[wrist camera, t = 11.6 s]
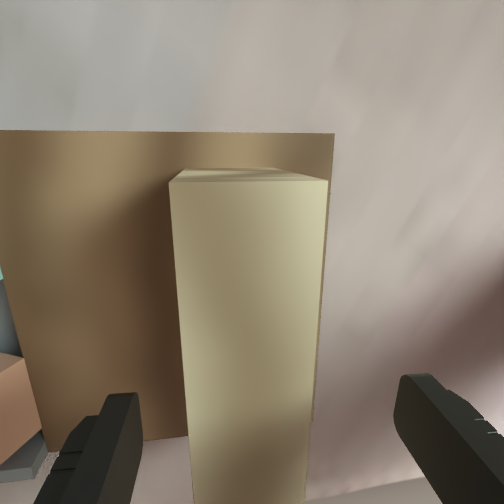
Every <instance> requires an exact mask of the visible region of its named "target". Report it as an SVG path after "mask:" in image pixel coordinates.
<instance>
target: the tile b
mask: <svg viewBox="0 0 504 504" xmlns="http://www.w3.org/2000/svg"><path fill="white" fill-rule="evenodd" d="M40 429H42V425H41V422H40V418H39V414H38V410H37V406H36V402H35V398H34V395H33V391H32V387H31V383H30V379H29V375H28V372H27V368H26V364H25V360H24V358H22V357H18V356H14V355H9V354H5V353H1V352H0V465H1V464H2V463H3V462H4V461H6V460H7V459H8V458H9V457H10V456H11V455H12V454H13V453H15V452H16V451H17V450H18V449H19V448H20V447H21V446H22V445H24V444H25V443H26V442H27V441H28V440H29V439H30V438H31V437H33V436H34V435H35V434H36V433H37V432H38V431H39V430H40Z"/></svg>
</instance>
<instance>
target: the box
mask: <svg viewBox="0 0 504 504" xmlns="http://www.w3.org/2000/svg"><path fill="white" fill-rule="evenodd" d="M0 352H1V353H5V354H9V355H14V356H18V357H22V358H23V355H22V351H21V347H20V343H19V340H18V336H17V332H16V328H15V324H14V320H13V317H12V313H11V309H10V305H9V301H8V297H7V293H6V290H5V286H4V282H3V279H2V280H0ZM47 453H48V451H47V447H46V443H45V439H44V436H43V432H42V429H40V430H39V431H38V432H37V433H36V434H35V435H34V436H33V437H31V438H30V439H29V440H28V441H27V442H26V443H25V444H24V445H22V446H21V447H20V448H19V449H18V450H17V451H16V452H15V453H13V454H12V455H11V456H10V457H9V458H8V459H7V460H6V461H4V462H3V463H2V464H1V465H0V483H5V482H13V481H20V480H28V479H34V478H35V476H36V474H37V472H38V471H39V469H40V467H41V465H42V463H43V461H44V459H45V457H46V455H47Z"/></svg>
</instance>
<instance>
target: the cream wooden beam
mask: <svg viewBox="0 0 504 504" xmlns="http://www.w3.org/2000/svg"><path fill="white" fill-rule="evenodd" d="M327 191H328V180H324V179H319V178H315V177H311V176H306V175H302V174H298V173H294V172H289V171H285V170H281V169H276V168H185V169H184V170H183V171H182V172H180V173H179V174H178V175H177V176H176V177H175V178H173V179H172V180H171V181H170V182H169V194H170V207H171V219H172V232H173V245H174V257H175V270H176V283H177V295H178V308H179V321H180V333H181V346H182V359H183V371H184V384H185V397H186V409H187V422H188V435H189V447H190V460H191V473H192V486H193V498H194V504H304V503H305V490H306V476H307V462H308V449H309V435H310V422H311V408H312V394H313V381H314V367H315V354H316V340H317V327H318V313H319V299H320V286H321V272H322V259H323V245H324V231H325V218H326V204H327Z"/></svg>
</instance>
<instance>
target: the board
mask: <svg viewBox="0 0 504 504" xmlns="http://www.w3.org/2000/svg"><path fill="white" fill-rule="evenodd" d="M334 137H335V134H321V133H225V132H128V131H31V130H0V268H1V271H2V275H3V282H4V286H5V290H6V293H7V297H8V301H9V305H10V309H11V313H12V317H13V320H14V324H15V328H16V332H17V336H18V340H19V343H20V347H21V351H22V355H23V358H24V360H25V364H26V368H27V372H28V375H29V379H30V383H31V387H32V391H33V395H34V398H35V402H36V406H37V410H38V414H39V418H40V422H41V425H42V432H43V436H44V439H45V443H46V447H47V451H48V452H57V451H61V449H62V447H63V445H64V443H65V441H66V439H67V437H68V435H69V433H70V432H71V431H72V430H73V429H74V428H75V427H76V426H77V425H78V424H79V423H80V422H81V421H82V420H83V419H84V418H85V417H86V416H92V415H99V413H100V411H101V409H102V406H103V404H104V402H105V400H106V397H107V396H108V395H109V394H115V393H130V392H137V393H138V397H139V405H140V413H141V421H142V429H143V441H149V440H157V439H166V438H174V437H182V436H189V435H188V422H187V409H186V397H185V384H184V371H183V359H182V346H181V333H180V321H179V308H178V295H177V283H176V270H175V257H174V245H173V232H172V219H171V207H170V194H169V182H170V181H171V180H172V179H173V178H175V177H176V176H177V175H178V174H179V173H180V172H182V171H183V170H184V169H185V168H276V169H281V170H285V171H289V172H294V173H298V174H302V175H306V176H311V177H315V178H319V179H324V180H328V191H327V204H326V218H325V231H324V245H323V259H322V272H321V286H320V299H319V313H318V327H317V340H316V354H315V367H314V381H313V394H312V408H311V421H313V408H314V395H315V383H316V370H317V357H318V344H319V331H320V318H321V305H322V292H323V279H324V266H325V253H326V240H327V227H328V214H329V201H330V188H331V175H332V163H333V150H334Z"/></svg>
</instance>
